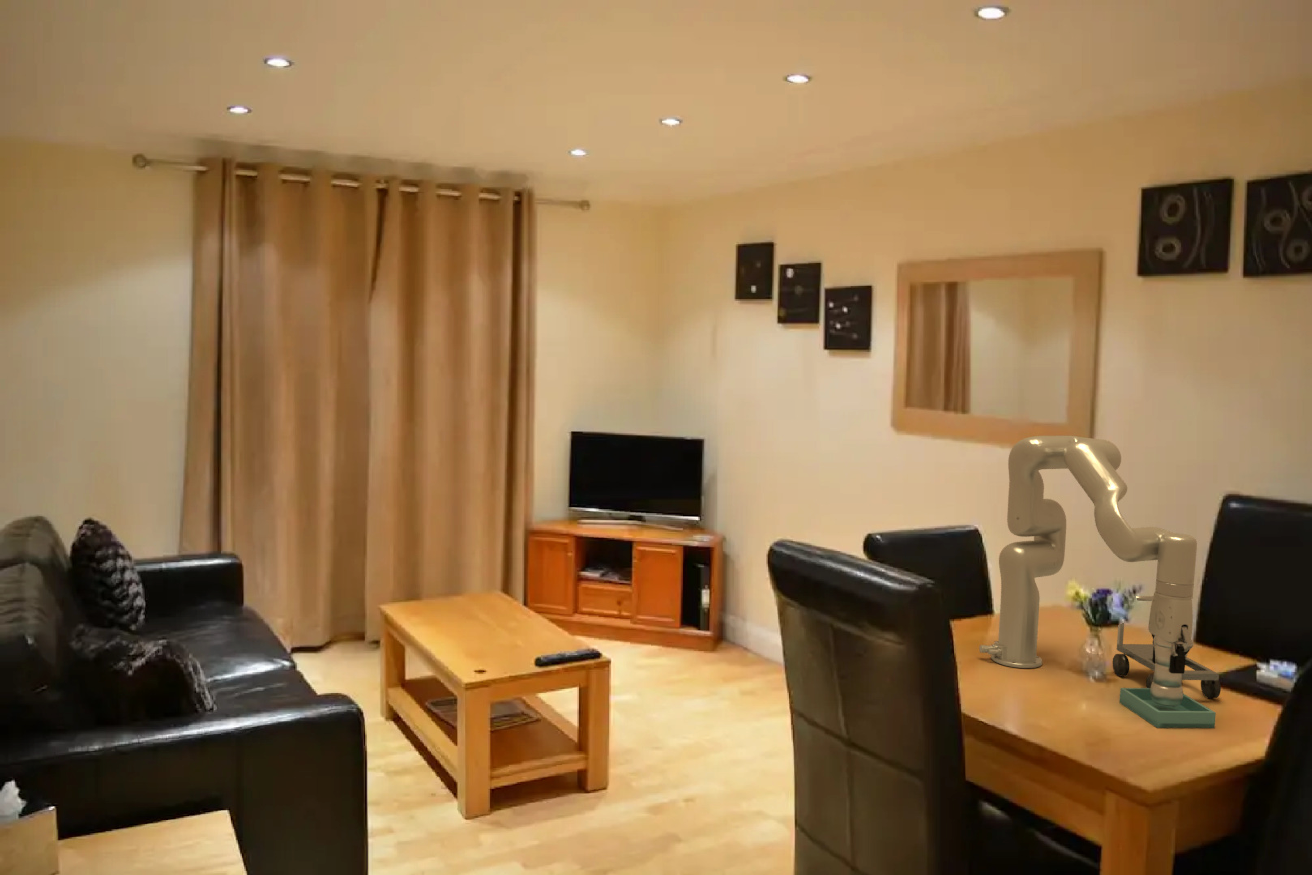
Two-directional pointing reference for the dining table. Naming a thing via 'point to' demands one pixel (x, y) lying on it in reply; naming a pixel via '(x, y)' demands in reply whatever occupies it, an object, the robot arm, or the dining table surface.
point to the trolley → (1145, 656)
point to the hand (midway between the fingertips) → (1168, 667)
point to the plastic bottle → (1165, 676)
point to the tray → (1167, 710)
